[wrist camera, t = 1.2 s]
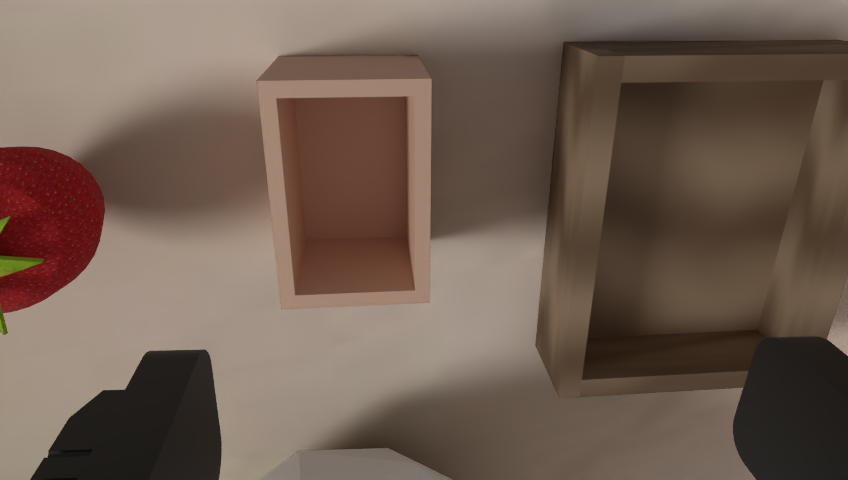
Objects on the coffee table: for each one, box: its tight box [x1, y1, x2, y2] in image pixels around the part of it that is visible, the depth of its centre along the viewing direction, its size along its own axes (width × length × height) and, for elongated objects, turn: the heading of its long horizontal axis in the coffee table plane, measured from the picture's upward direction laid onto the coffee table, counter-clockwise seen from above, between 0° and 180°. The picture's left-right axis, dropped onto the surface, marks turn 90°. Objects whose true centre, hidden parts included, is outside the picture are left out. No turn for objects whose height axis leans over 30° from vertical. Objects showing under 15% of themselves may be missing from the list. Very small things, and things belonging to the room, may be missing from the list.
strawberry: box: [0, 147, 105, 335], centre depth 23 cm, size 6×8×10 cm
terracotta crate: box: [257, 55, 432, 309], centre depth 26 cm, size 9×6×6 cm, turn 0°
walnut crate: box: [536, 40, 848, 398], centre depth 29 cm, size 16×13×4 cm
